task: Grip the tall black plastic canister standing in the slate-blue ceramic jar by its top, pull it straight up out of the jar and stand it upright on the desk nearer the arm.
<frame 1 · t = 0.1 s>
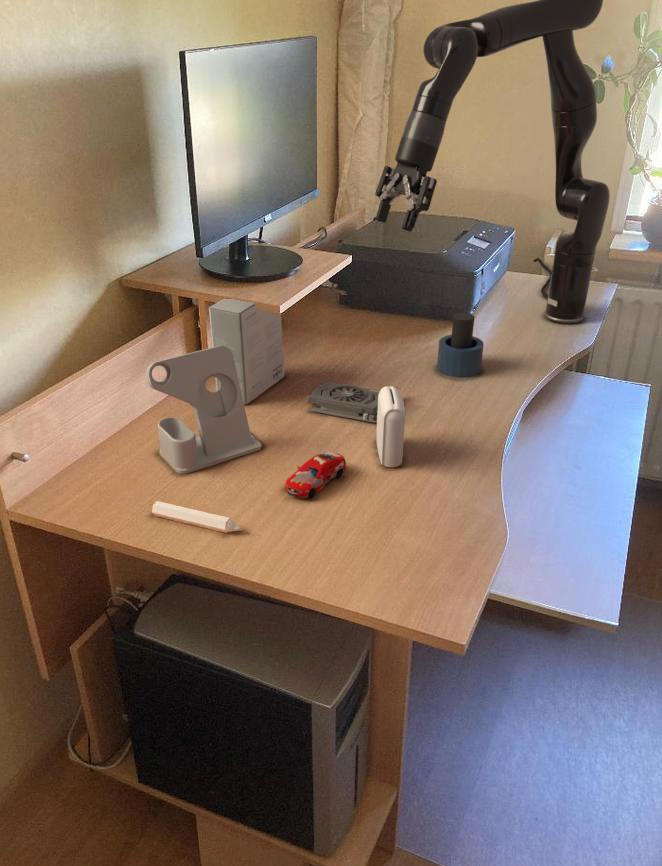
hand: (393, 225, 156), 31 cm above the table, tool tilted 20°, fingers open, 8 cm apart
graphics card: (353, 406, 159), on the table
hard drive box: (251, 388, 167), on the table
race car: (315, 483, 135), on the table
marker: (199, 525, 125), on the table
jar: (458, 370, 172), on the table
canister: (458, 368, 172), resting on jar
phone holder: (209, 451, 144), on the table
photo printer: (388, 454, 142), on the table
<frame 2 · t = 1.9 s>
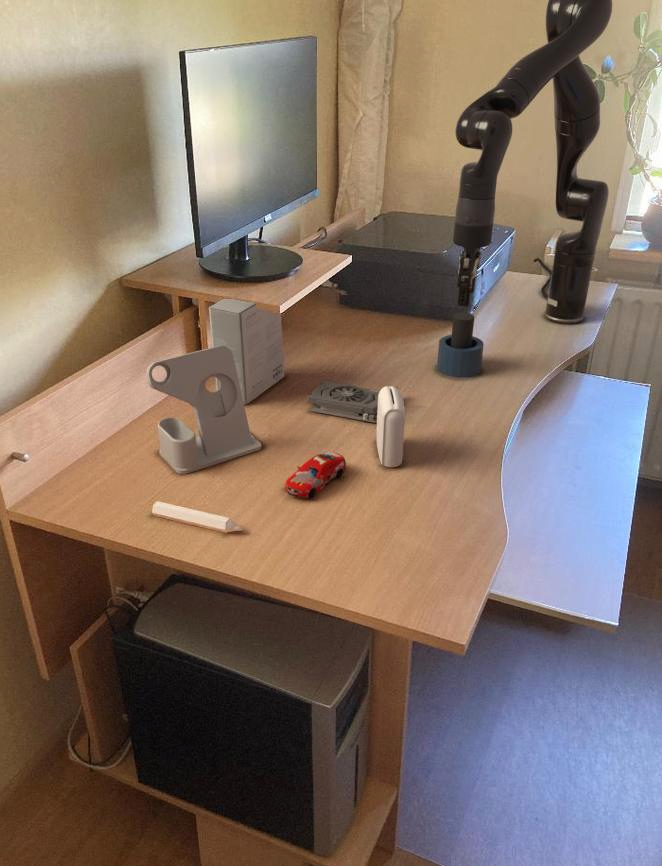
hand: (465, 298, 164), 16 cm above the table, tool pointing down, fingers open, 8 cm apart
nothing on the table moved.
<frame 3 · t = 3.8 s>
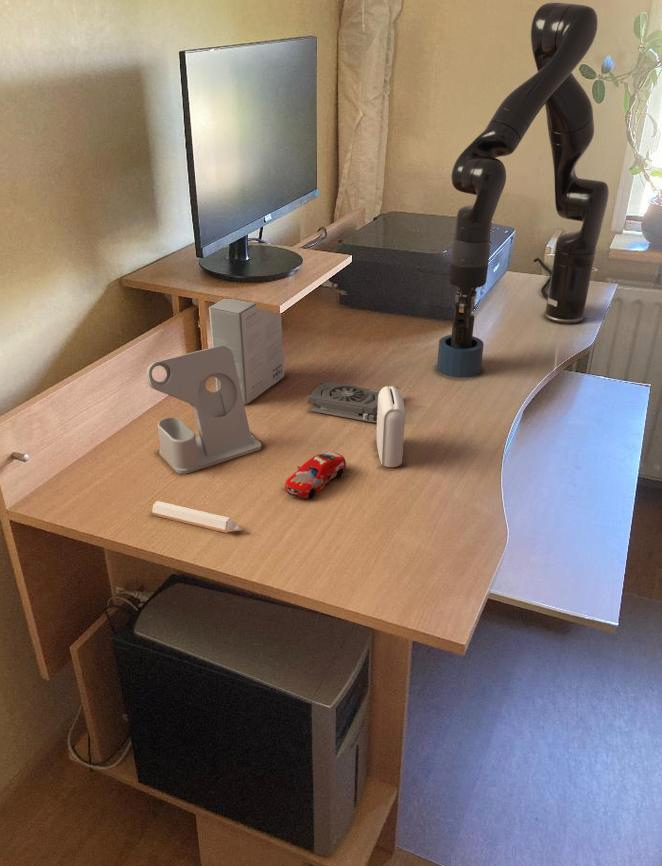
hand: (461, 338, 169), 7 cm above the table, tool pointing down, fingers closed on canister, 4 cm apart
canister: (458, 368, 172), resting on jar, touching gripper
everything else where it was.
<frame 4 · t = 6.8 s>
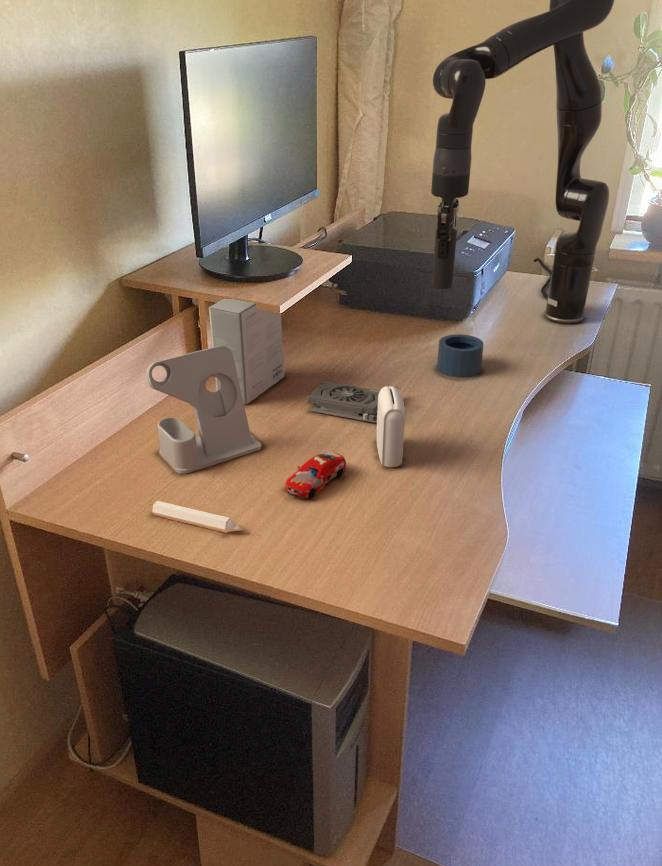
hand: (444, 254, 167), 23 cm above the table, tool pointing down, fingers closed on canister, 4 cm apart
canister: (441, 286, 171), point 16 cm above the table, touching gripper
everything else where it was.
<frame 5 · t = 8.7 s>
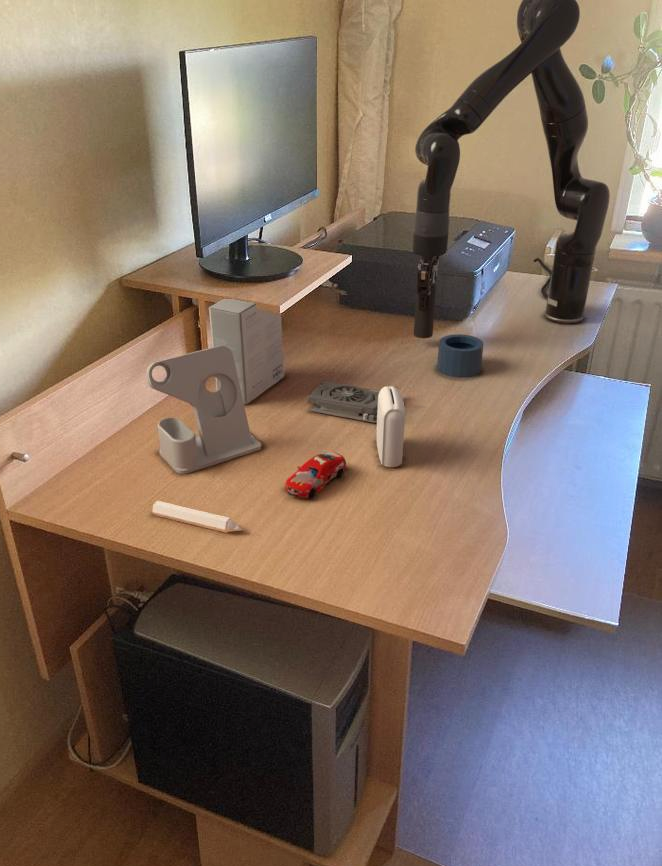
hand: (425, 306, 179), 10 cm above the table, tool pointing down, fingers closed on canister, 4 cm apart
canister: (423, 334, 182), point 3 cm above the table, touching gripper
everything else where it was.
when the fingers open (7 cm above the table, at t = 9.9 s): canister stays where it is, on the table.
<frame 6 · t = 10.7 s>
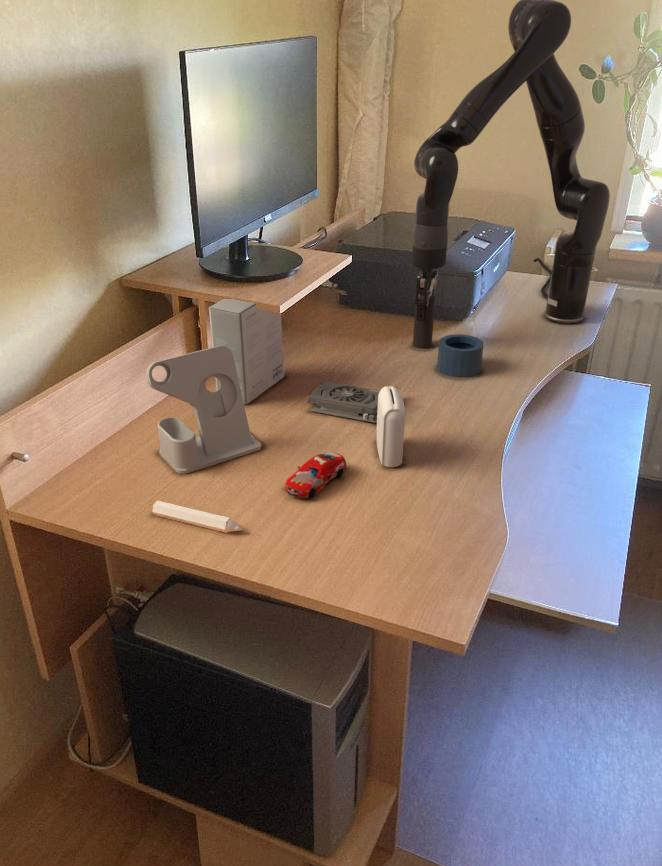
hand: (424, 314, 180), 8 cm above the table, tool pointing down, fingers open, 8 cm apart
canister: (422, 346, 184), on the table
everything else where it was.
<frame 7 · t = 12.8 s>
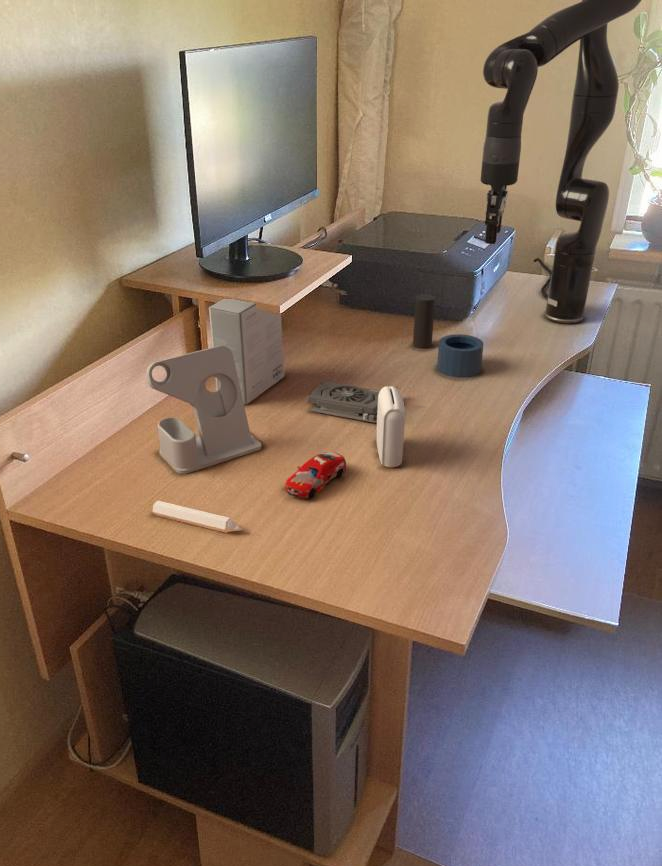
hand: (492, 237, 170), 25 cm above the table, tool pointing down, fingers open, 8 cm apart
nothing on the table moved.
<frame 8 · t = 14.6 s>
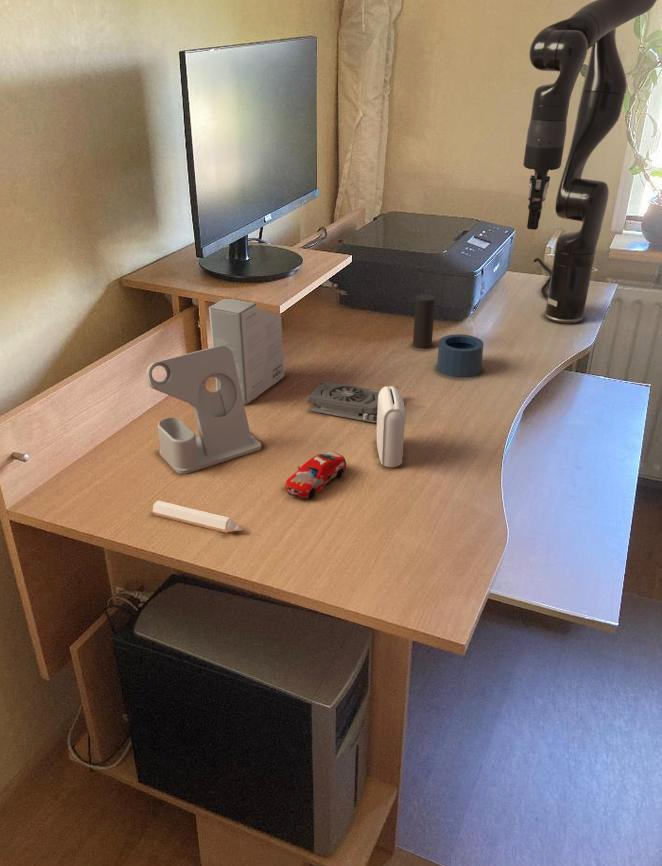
hand: (533, 223, 168), 28 cm above the table, tool pointing down, fingers open, 8 cm apart
nothing on the table moved.
at the end: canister inside the target area (0.1 cm from its centre), on the table; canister tilted 0°; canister touching table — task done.
